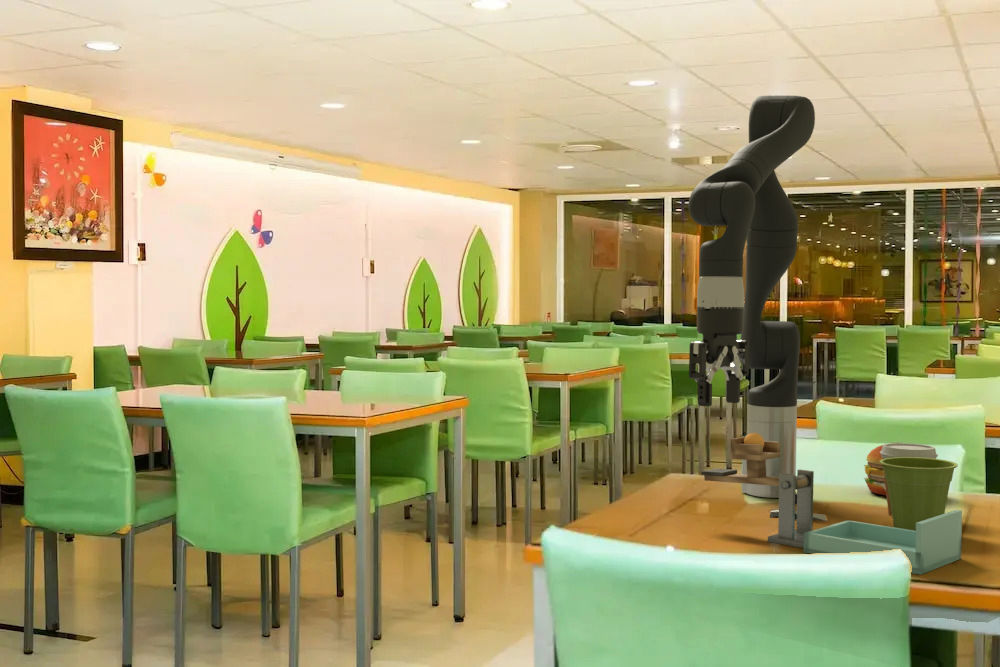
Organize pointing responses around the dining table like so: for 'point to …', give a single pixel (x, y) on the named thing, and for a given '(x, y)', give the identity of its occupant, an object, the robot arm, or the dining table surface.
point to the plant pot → (917, 488)
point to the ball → (754, 439)
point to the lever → (752, 465)
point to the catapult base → (787, 510)
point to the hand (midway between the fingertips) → (719, 404)
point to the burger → (875, 472)
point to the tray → (894, 540)
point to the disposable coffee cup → (905, 451)
